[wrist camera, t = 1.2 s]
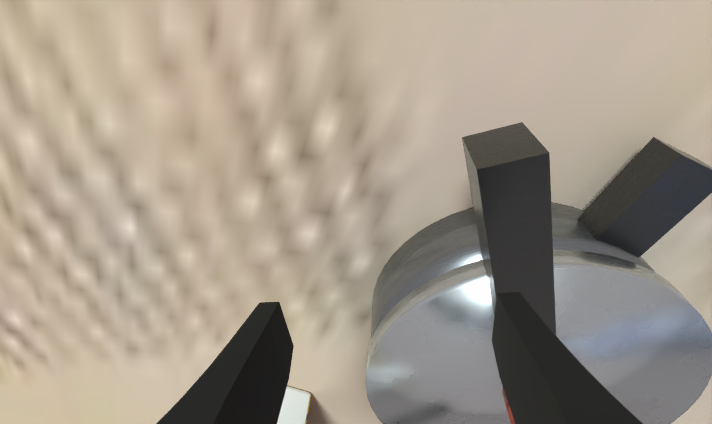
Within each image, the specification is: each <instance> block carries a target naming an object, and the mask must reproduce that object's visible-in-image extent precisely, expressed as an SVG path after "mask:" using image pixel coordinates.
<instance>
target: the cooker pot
mask: <svg viewBox="0 0 712 424" xmlns="http://www.w3.org/2000/svg"><path fill="white" fill-rule="evenodd" d="M711 193H712V168H711V167H710V166H708V165H707V164H705V163H703V162H702V161H700V160H698V159H697V158H695V157H693V156H691V155H689V154H687V153H685V152H683V151H681V150H678V149H676V148H674V147H672V146H670V145H668V144H666V143H664V142H662V141H660V140H658V139H656V138H654V137H653V138H652V139H651V141H650V142H649V143H648V144H647V145H646V146H645V147H644V148H643V149H642V150H641V151H640V152H639V153H638V155H637V156H636V157H635V158H634V159H633V160H632V161H631V162H630V163H629V164H628V165H627V166H626V167H625V169H624V170H623V171H622V172H621V173H620V174H619V175H618V176H617V177H616V178H615V179H614V180H613V181H612V183H611V184H610V185H609V186H608V187H607V188H606V189H605V190H604V191H603V192H602V193H601V194H600V195H599V197H598V198H597V199H596V200H595V201H594V202H593V203H592V204H591V205H590V206H589V207H588V208H587V209H586V211H583V210H580V209H577V208H574V207H571V206H567V205H562V204H557V203H552V202H551V213H552V239H553V250H573V251H587V252H593V253H598V254H604V255H610V256H614V257H617V258H620V259H624V260H627V261H630V262H633V263H636V264H638V265H640V266H642V267H645V268H647V269H649V270H651V271H653V272H654V270H653V269H652V268H651V267H650V266H649V265H648V264H647V263H646V261H645V260H644V259H643V258H642V257H641V255H642V254H643V253H645V252H646V251H647V250H648V249H649V248H650V247H651V246H652V245H654V244H655V243H656V242H657V241H658V240H659V239H660V238H661V237H662V236H664V235H665V234H666V233H667V232H668V231H669V230H670V229H671V228H673V227H674V226H675V225H676V224H677V223H678V222H679V221H680V220H682V219H683V218H684V217H685V216H686V215H687V214H688V213H689V212H691V211H692V210H693V209H694V208H695V207H696V206H697V205H698V204H700V203H701V202H702V201H703V200H704V199H705V198H706V197H707V196H708V195H710V194H711ZM479 260H482V255H481V249H480V243H479V237H478V231H477V225H476V219H475V213H474V207H473V208H470V209H467V210H464V211H461V212H458V213H455V214H452V215H450V216H448V217H445V218H443V219H441V220H439V221H437V222H435V223H433V224H431V225H429V226H428V227H426V228H425V229H423V230H421V231H420V232H418V233H417V234H415V235H414V236H413V237H412V238H410V239H409V240H408V241H407V242H405V243H404V244H403V245H402V246H401V247H400V248H399V249H398V250H397V251H396V252H395V253H394V254H393V255H392V257H391V258H390V260H389V261H388V262H387V264H386V265H385V266H384V268H383V270H382V272H381V274H380V276H379V278H378V280H377V283H376V287H375V290H374V295H373V304H372V330H371V339H372V337H373V335H374V333H375V331H376V329H377V327H378V326H379V324H380V323H381V322H382V320H383V319H384V318H385V316H386V315H387V314H388V313H389V312H390V311H391V310H392V309H393V308H394V307H395V306H396V305H397V304H398V303H399V302H400V301H401V300H402V299H403V298H405V297H406V296H407V295H409V294H410V293H411V292H412V291H414V290H415V289H417V288H418V287H420V286H422V285H423V284H425V283H427V282H428V281H430V280H432V279H434V278H435V277H438V276H440V275H442V274H444V273H446V272H449V271H451V270H453V269H455V268H458V267H461V266H464V265H467V264H470V263H473V262H476V261H479Z"/></svg>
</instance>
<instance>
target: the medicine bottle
mask: <svg viewBox="0 0 712 424" xmlns="http://www.w3.org/2000/svg"><path fill="white" fill-rule="evenodd" d="M310 401H311V394H310V393H309V392H306V391H303V390H299V389H296V388H293V387H289V386H287V387H286V391H285V395H284V399H283V403H282V407H281V410H280V414H279V418H278V421H277V424H307V418H308V413H309V407H310Z"/></svg>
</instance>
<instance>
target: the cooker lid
mask: <svg viewBox="0 0 712 424" xmlns="http://www.w3.org/2000/svg"><path fill="white" fill-rule="evenodd" d="M462 140H463V146H464V152H465V158H466V164H467V170H468V176H469V182H470V189H471V195H472V201H473V207H474V213H475V219H476V225H477V231H478V237H479V243H480V249H481V255H482V260H479V261H476V262H473V263H470V264H467V265H464V266H461V267H458V268H455V269H453V270H451V271H449V272H446V273H444V274H442V275H440V276H438V277H435V278H434V279H432V280H430V281H428V282H427V283H425V284H423V285H422V286H420V287H418V288H417V289H415V290H414V291H412V292H411V293H410V294H409V295H407V296H406V297H405V298H403V299H402V300H401V301H400V302H399V303H398V304H397V305H396V306H395V307H394V308H393V309H392V310H391V311H390V312H389V313H388V314H387V315H386V316H385V318H384V319H383V320H382V322H381V323H380V324H379V326H378V327H377V329H376V331H375V333H374V335H373V337H372V339H371V342H370V346H369V349H368V354H367V369H366V390H367V397H368V399H369V402H370V405H371V407H372V409H373V411H374V412H375V414H376V416H377V417H378V419H379V420H380V421H381V422H382V423H383V424H515V421H514V418H513V415H512V412H511V409H510V406H509V403H508V400H507V397H506V394H505V391H504V388H503V385H502V382H501V379H500V376H499V372H498V367H497V363H496V358H495V354H494V349H493V344H492V333H493V324H494V314H495V305H496V295H497V293H508V292H520V293H521V294H522V295H523V296H524V297H525V299H526V300H527V301H528V302H529V304H530V305H531V306H532V307H533V309H534V310H535V311H536V312H537V314H538V315H539V316H540V317H541V318H542V320H543V321H544V322H545V323H546V324H547V326H548V327H549V328H550V329H551V330H552V332H553V333H554V334H555V335H556V336H557V337H558V338H559V340H560V341H561V342H562V343H563V344H564V345H565V346H566V347H567V348H568V350H569V351H570V352H571V353H572V354H573V355H574V356H575V357H576V358H577V359H578V361H579V362H580V363H581V364H582V365H583V366H584V367H585V368H586V369H587V370H588V371H589V372H590V373H591V374H592V375H593V376H594V377H595V378H596V379H597V380H598V381H599V382H600V383H601V384H602V385H603V386H604V387H605V388H606V389H607V390H608V391H609V392H610V393H611V394H612V395H613V396H614V397H615V398H616V399H617V400H618V401H619V402H620V403H621V404H622V405H623V406H624V407H626V408H627V409H628V410H629V411H630V412H631V413H632V414H633V415H634V416H635V417H636V418H638V419H639V420H640V421H641V422H642V423H643V424H671V423H672V422H674V421H675V420H676V419H677V418H679V417H680V416H681V415H682V414H683V413H685V412H686V411H687V410H688V409H689V408H690V407H691V406H692V405H693V404H694V402H695V401H696V400H697V399H698V398H699V397H700V395H701V394H702V392H703V391H704V389H705V388H706V386H707V385H708V382H709V380H710V378H711V375H712V333H711V330H710V328H709V327H708V325H707V324H706V322H705V321H704V319H703V318H702V316H701V315H700V314H699V312H698V311H697V310H696V309H695V308H694V307H693V306H692V305H691V304H690V303H689V302H688V300H687V299H686V298H685V297H684V296H683V295H682V294H681V293H680V292H679V291H678V290H677V289H676V288H675V287H674V286H673V285H672V284H671V283H670V282H668V281H667V280H665V279H664V278H662V277H661V276H659V275H658V274H656V273H655V272H653V271H651V270H649V269H647V268H645V267H642V266H640V265H638V264H636V263H633V262H630V261H627V260H624V259H620V258H617V257H614V256H610V255H604V254H598V253H593V252H587V251H573V250H553V239H552V213H551V187H550V161H549V152H548V151H547V150H546V149H545V147H544V146H543V145H542V144H541V143H540V142H539V141H538V140H537V139H536V137H535V136H534V135H533V134H532V133H531V132H530V131H529V130H528V128H527V127H526V126H525V125H524V124H523V123H518V124H514V125H510V126H506V127H502V128H498V129H494V130H490V131H486V132H482V133H478V134H474V135H470V136H466V137H462Z"/></svg>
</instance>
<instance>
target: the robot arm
mask: <svg viewBox="0 0 712 424" xmlns="http://www.w3.org/2000/svg"><path fill="white" fill-rule="evenodd" d="M492 344H493V349H494V354H495V358H496V363H497V367H498V372H499V376H500V379H501V382H502V385H503V388H504V391H505V394H506V397H507V400H508V403H509V406H510V409H511V412H512V415H513V418H514V421H515V424H643V423H642V422H641V421H640V420H639V419H638V418H636V417H635V416H634V415H633V414H632V413H631V412H630V411H629V410H628V409H627V408H626V407H624V406H623V405H622V404H621V403H620V402H619V401H618V400H617V399H616V398H615V397H614V396H613V395H612V394H611V393H610V392H609V391H608V390H607V389H606V388H605V387H604V386H603V385H602V384H601V383H600V382H599V381H598V380H597V379H596V378H595V377H594V376H593V375H592V374H591V373H590V372H589V371H588V370H587V369H586V368H585V367H584V366H583V365H582V364H581V363H580V362H579V361H578V359H577V358H576V357H575V356H574V355H573V354H572V353H571V352H570V351H569V350H568V348H567V347H566V346H565V345H564V344H563V343H562V342H561V341H560V340H559V338H558V337H557V336H556V335H555V334H554V333H553V332H552V330H551V329H550V328H549V327H548V326H547V324H546V323H545V322H544V321H543V320H542V318H541V317H540V316H539V315H538V314H537V312H536V311H535V310H534V309H533V307H532V306H531V305H530V304H529V302H528V301H527V300H526V299H525V297H524V296H523V295H522V294H521V293H520V292H508V293H497V295H496V305H495V314H494V324H493V333H492ZM292 353H293V343H292V340H291V337H290V334H289V331H288V328H287V325H286V322H285V319H284V315H283V312H282V309H281V306H280V303H279V302H265V303H259V304H258V305H257V307H256V308H255V309H254V310H253V312H252V313H251V314H250V316H249V317H248V318H247V320H246V321H245V322H244V324H243V325H242V326H241V327H240V329H239V330H238V331H237V333H236V334H235V335H234V336H233V338H232V339H231V340H230V342H229V343H228V344H227V345H226V347H225V348H224V349H223V350H222V352H221V353H220V354H219V355H218V356H217V358H216V359H215V360H214V361H213V363H212V364H211V365H210V366H209V367H208V369H207V370H206V371H205V372H204V373H203V374H202V376H201V377H200V378H199V379H198V380H197V381H196V382H195V383H194V385H193V386H192V387H191V388H190V389H189V390H188V391H187V393H186V394H185V395H184V396H183V397H182V398H181V399H180V400H179V401H178V402H177V403H176V404H175V405H174V406H173V407H172V409H171V410H170V411H169V412H168V413H167V414H166V415H165V416H164V417H163V418H162V419H161V420H160V421H159V422H158V423H157V424H277V421H278V418H279V414H280V410H281V407H282V403H283V399H284V395H285V391H286V387H287V383H288V379H289V373H290V367H291V360H292Z"/></svg>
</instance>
